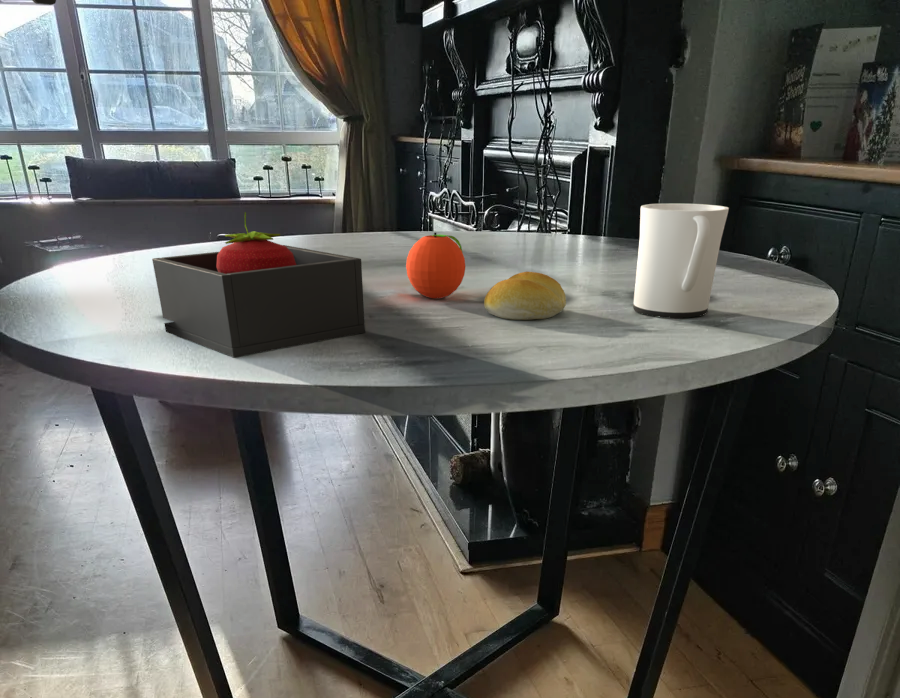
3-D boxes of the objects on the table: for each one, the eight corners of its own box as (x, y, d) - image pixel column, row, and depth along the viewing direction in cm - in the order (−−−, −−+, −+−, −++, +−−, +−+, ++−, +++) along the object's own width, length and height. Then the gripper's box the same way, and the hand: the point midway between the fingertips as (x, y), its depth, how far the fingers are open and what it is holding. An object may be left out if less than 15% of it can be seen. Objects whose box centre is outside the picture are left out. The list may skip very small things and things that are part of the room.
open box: (233, 357, 69) (221, 275, 65) (165, 332, 77) (151, 258, 74) (365, 332, 77) (361, 258, 74) (290, 312, 86) (283, 244, 82)
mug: (619, 303, 90) (630, 203, 84) (693, 302, 90) (709, 203, 85) (649, 324, 80) (663, 213, 75) (732, 322, 81) (752, 212, 76)
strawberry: (296, 330, 74) (284, 214, 69) (217, 330, 74) (200, 214, 69) (306, 317, 79) (296, 208, 74) (232, 317, 79) (217, 208, 74)
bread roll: (473, 317, 83) (473, 277, 81) (508, 302, 90) (510, 265, 88) (544, 324, 80) (547, 283, 78) (576, 309, 87) (579, 271, 85)
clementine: (442, 289, 97) (441, 227, 94) (483, 296, 93) (484, 231, 90) (394, 298, 93) (392, 232, 89) (436, 306, 88) (435, 237, 85)
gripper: (-59, -222, 70) (-4, 4, 78) (-11, -273, 61) (45, -12, 69) (29, -202, 74) (72, 10, 83) (85, -247, 65) (127, -4, 74)
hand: (60, 0), depth 76 cm, fingers open, 8 cm apart
